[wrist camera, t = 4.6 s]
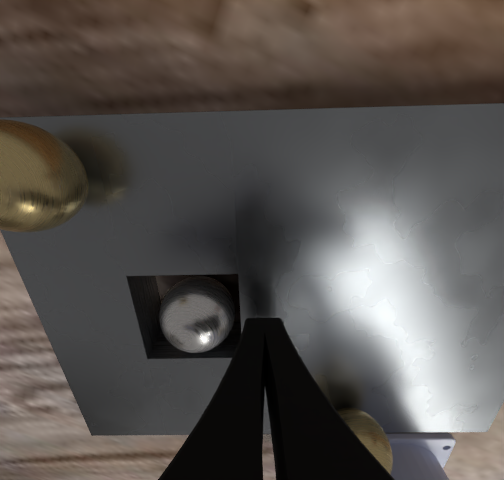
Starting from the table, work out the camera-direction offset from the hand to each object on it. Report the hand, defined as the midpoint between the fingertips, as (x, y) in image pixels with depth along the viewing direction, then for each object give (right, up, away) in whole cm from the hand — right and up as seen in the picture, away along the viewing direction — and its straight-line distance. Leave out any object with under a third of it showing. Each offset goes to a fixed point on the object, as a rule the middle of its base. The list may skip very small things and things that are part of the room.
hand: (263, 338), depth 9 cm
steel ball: (-3, 0, +2) cm, 4 cm away
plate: (+1, +1, +3) cm, 4 cm away
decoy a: (+4, -6, +2) cm, 8 cm away
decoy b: (-7, +5, -3) cm, 9 cm away
